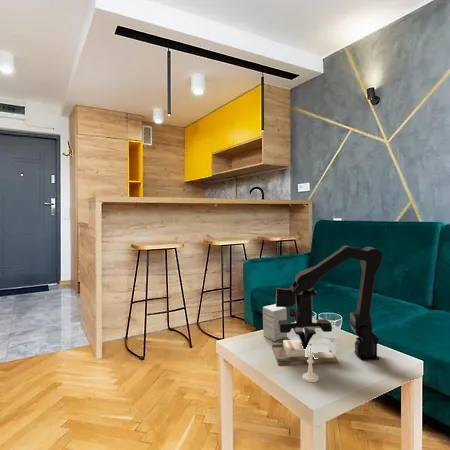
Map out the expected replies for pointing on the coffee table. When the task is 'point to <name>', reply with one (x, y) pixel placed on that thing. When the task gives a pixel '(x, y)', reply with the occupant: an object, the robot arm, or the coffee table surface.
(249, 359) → the coffee table surface
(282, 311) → the grey drawer cabinet
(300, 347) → the cream flat box
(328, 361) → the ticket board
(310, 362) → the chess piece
